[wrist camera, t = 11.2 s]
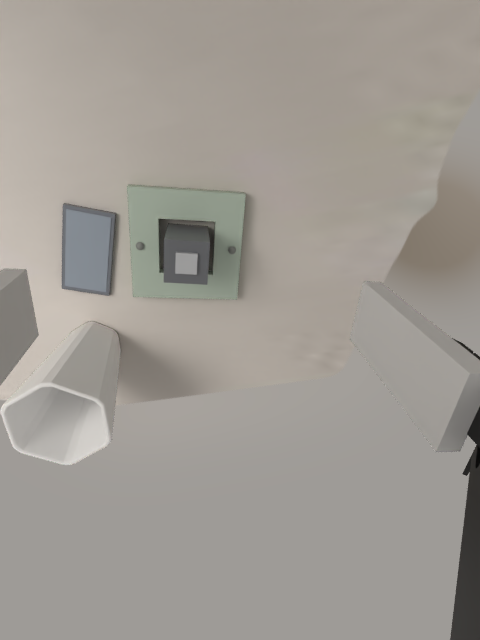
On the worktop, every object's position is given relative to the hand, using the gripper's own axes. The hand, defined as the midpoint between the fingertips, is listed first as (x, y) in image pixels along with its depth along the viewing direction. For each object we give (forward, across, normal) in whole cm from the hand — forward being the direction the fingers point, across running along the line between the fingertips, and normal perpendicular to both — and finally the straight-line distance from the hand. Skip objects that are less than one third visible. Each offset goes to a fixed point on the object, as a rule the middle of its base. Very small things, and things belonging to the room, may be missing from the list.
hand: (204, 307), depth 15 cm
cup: (+35, -14, -22) cm, 44 cm away
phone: (+35, -14, -8) cm, 39 cm away
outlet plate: (+35, -1, -7) cm, 35 cm away
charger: (+35, -1, -7) cm, 35 cm away
